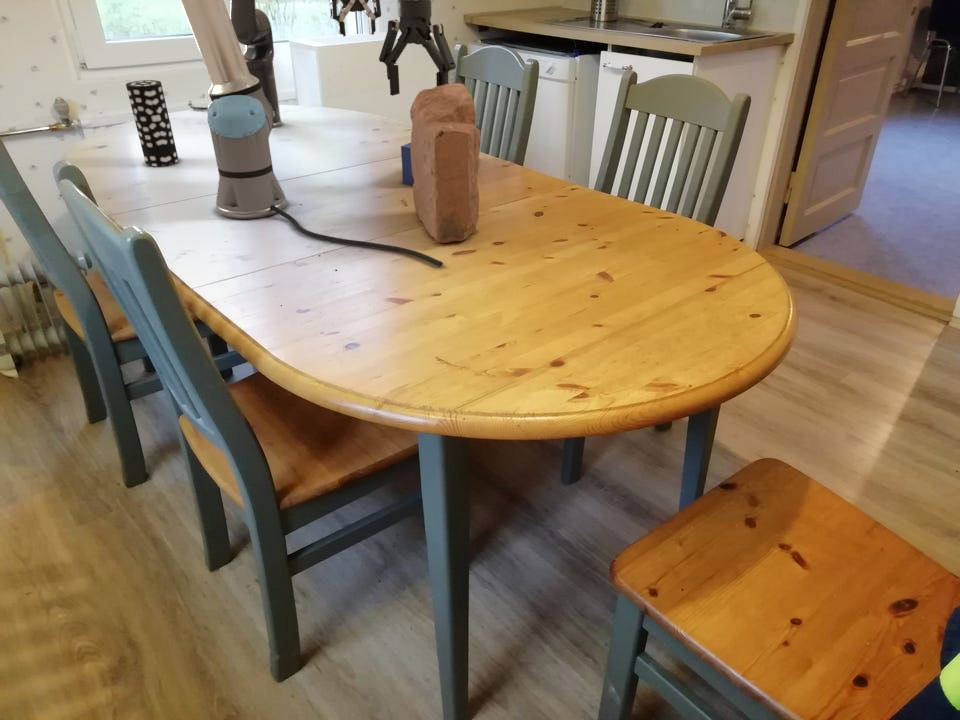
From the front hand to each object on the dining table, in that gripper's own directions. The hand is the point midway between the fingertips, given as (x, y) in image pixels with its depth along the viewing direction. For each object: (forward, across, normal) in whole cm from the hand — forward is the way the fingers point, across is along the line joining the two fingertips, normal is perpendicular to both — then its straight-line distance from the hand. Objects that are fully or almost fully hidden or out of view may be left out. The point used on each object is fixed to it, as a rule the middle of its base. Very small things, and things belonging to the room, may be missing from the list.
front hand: (417, 98), depth 165 cm
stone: (+20, -22, +22) cm, 37 cm away
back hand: (-8, +39, -26) cm, 48 cm away
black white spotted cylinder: (+10, +68, +25) cm, 73 cm away
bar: (+20, 0, -10) cm, 22 cm away
